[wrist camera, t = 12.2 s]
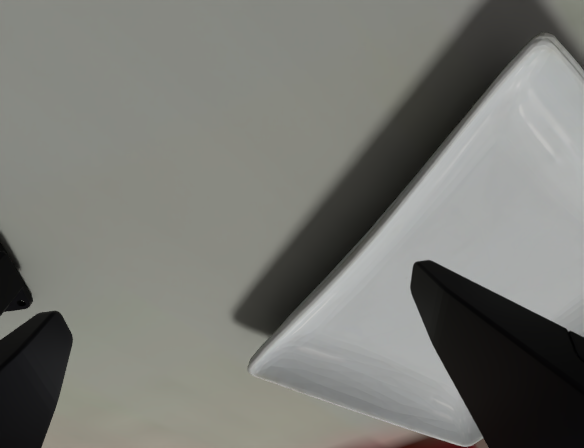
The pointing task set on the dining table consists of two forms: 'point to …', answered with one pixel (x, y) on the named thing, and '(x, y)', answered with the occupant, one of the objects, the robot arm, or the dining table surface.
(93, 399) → the dining table surface
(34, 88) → the dining table surface
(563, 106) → the square plate
